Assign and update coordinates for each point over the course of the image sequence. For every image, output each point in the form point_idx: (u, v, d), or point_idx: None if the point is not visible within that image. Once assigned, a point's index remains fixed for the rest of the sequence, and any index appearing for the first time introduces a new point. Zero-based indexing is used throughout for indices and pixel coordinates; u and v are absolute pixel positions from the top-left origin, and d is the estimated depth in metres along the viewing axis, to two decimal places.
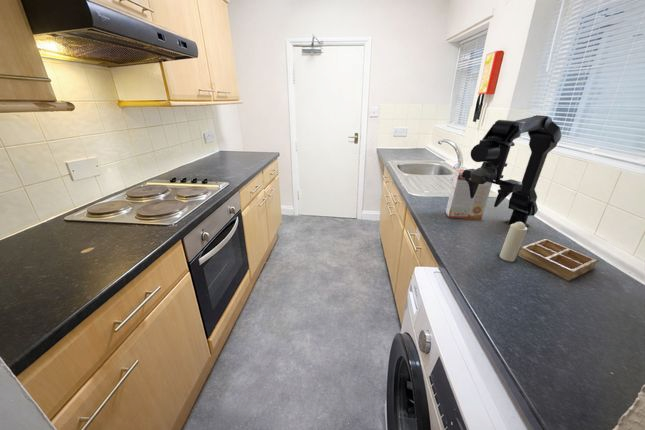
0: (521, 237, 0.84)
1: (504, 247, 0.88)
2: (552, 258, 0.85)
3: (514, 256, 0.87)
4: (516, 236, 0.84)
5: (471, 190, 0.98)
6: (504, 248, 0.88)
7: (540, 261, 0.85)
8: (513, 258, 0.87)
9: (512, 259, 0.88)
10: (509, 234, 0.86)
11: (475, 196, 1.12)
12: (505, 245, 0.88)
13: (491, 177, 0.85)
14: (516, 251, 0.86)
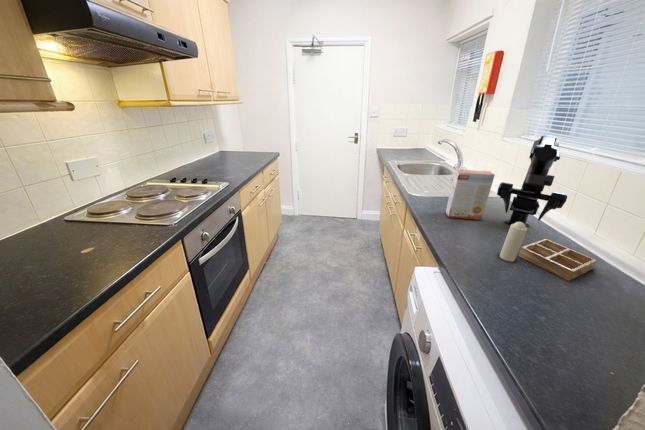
0: (521, 237, 0.84)
1: (504, 247, 0.88)
2: (552, 258, 0.85)
3: (514, 256, 0.87)
4: (516, 236, 0.84)
5: (508, 203, 0.92)
6: (504, 248, 0.88)
7: (540, 261, 0.85)
8: (513, 258, 0.87)
9: (512, 259, 0.88)
10: (509, 234, 0.86)
11: (475, 196, 1.12)
12: (505, 245, 0.88)
13: None
14: (516, 251, 0.86)
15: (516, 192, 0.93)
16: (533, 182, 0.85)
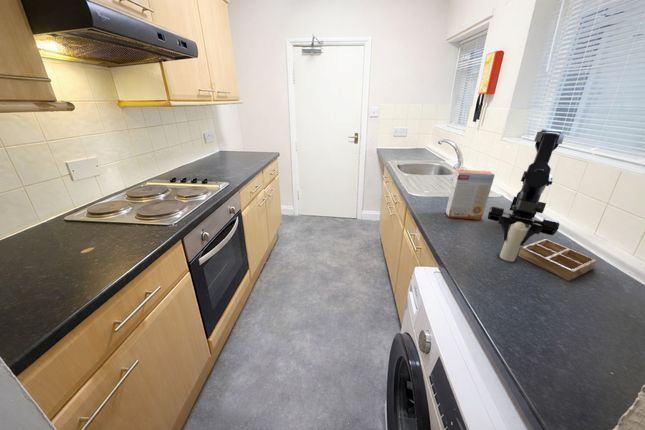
0: (521, 237, 0.84)
1: (504, 247, 0.88)
2: (552, 258, 0.85)
3: (514, 256, 0.87)
4: (517, 236, 0.84)
5: (507, 231, 0.87)
6: (504, 248, 0.88)
7: (540, 261, 0.85)
8: (513, 258, 0.87)
9: (512, 259, 0.88)
10: (509, 234, 0.86)
11: (475, 196, 1.12)
12: (505, 245, 0.88)
13: (544, 207, 0.81)
14: (516, 251, 0.86)
15: None
16: (524, 209, 0.82)
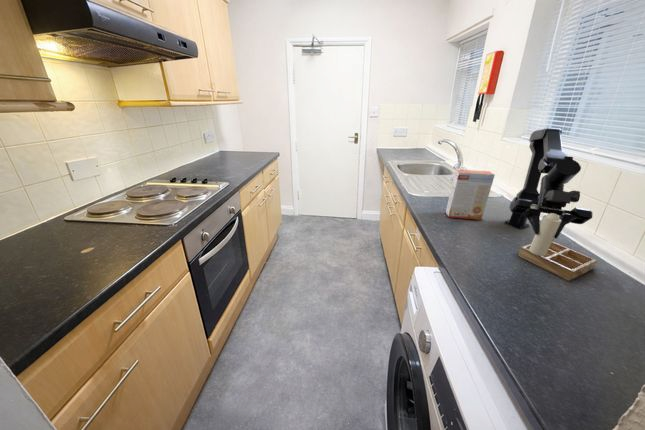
0: (556, 229, 0.79)
1: (536, 241, 0.82)
2: (552, 258, 0.85)
3: (547, 250, 0.82)
4: (552, 229, 0.78)
5: (538, 223, 0.81)
6: (536, 242, 0.82)
7: (540, 261, 0.85)
8: (546, 252, 0.82)
9: (545, 253, 0.82)
10: (542, 227, 0.80)
11: (475, 196, 1.12)
12: (537, 239, 0.82)
13: None
14: (549, 244, 0.81)
15: None
16: (559, 199, 0.76)
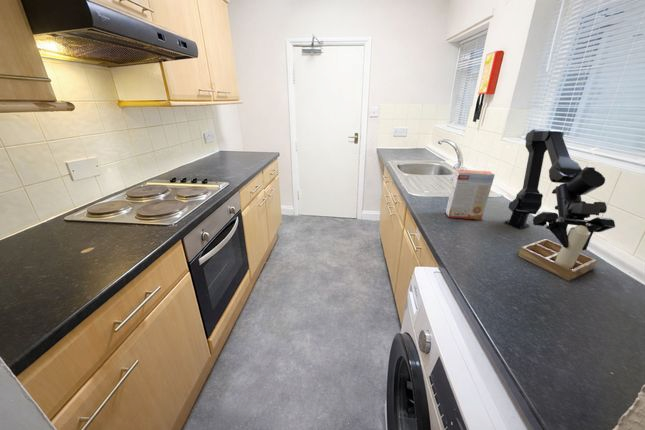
0: (585, 242, 0.78)
1: (565, 254, 0.81)
2: (552, 258, 0.85)
3: None
4: (582, 241, 0.77)
5: (566, 236, 0.80)
6: (565, 255, 0.81)
7: (540, 261, 0.85)
8: None
9: (573, 265, 0.81)
10: (572, 240, 0.78)
11: (475, 196, 1.12)
12: (566, 252, 0.80)
13: None
14: None
15: None
16: (589, 212, 0.75)
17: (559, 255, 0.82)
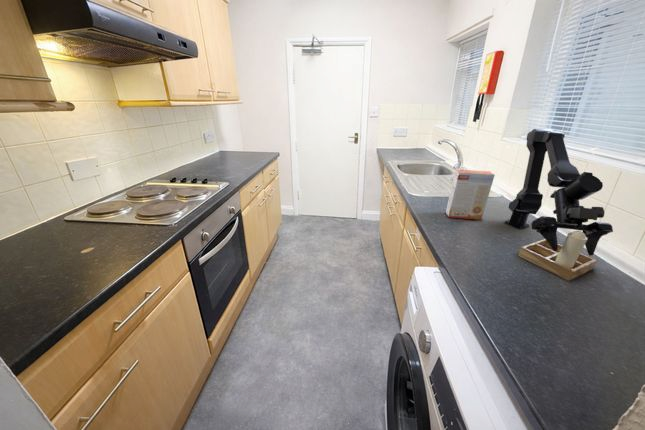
0: None
1: (562, 259, 0.81)
2: (552, 258, 0.85)
3: (572, 266, 0.81)
4: (579, 247, 0.78)
5: (556, 240, 0.81)
6: (562, 260, 0.81)
7: (540, 261, 0.85)
8: (571, 269, 0.82)
9: None
10: (569, 245, 0.79)
11: (475, 196, 1.12)
12: (564, 257, 0.81)
13: None
14: (575, 261, 0.81)
15: (557, 225, 0.83)
16: (587, 217, 0.76)
17: (557, 260, 0.83)
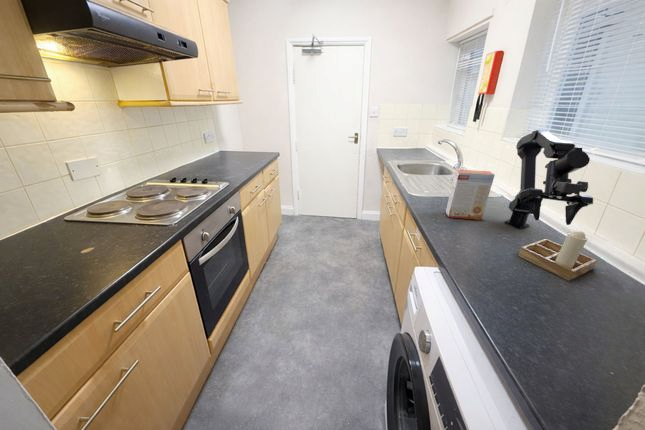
0: None
1: (562, 259, 0.81)
2: (552, 258, 0.85)
3: (572, 266, 0.81)
4: (579, 247, 0.78)
5: (539, 210, 0.88)
6: (562, 260, 0.81)
7: (540, 261, 0.85)
8: (571, 269, 0.82)
9: None
10: (569, 245, 0.79)
11: (475, 196, 1.12)
12: (564, 257, 0.81)
13: None
14: (575, 261, 0.81)
15: (543, 196, 0.89)
16: (571, 191, 0.81)
17: (557, 260, 0.83)
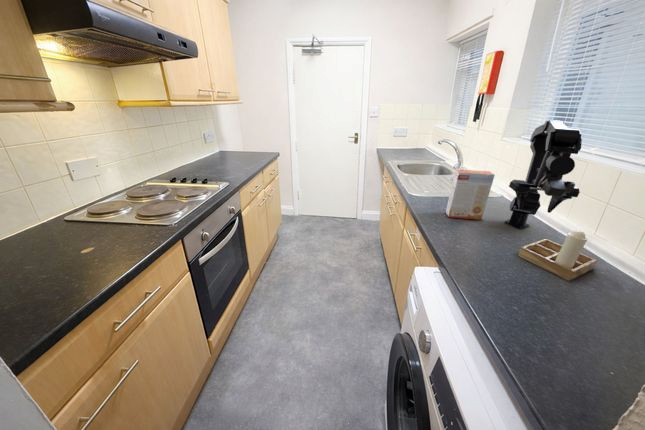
0: None
1: (562, 259, 0.81)
2: (552, 258, 0.85)
3: (572, 266, 0.81)
4: (579, 247, 0.78)
5: (522, 202, 0.93)
6: (562, 260, 0.81)
7: (540, 261, 0.85)
8: (571, 269, 0.82)
9: None
10: (569, 245, 0.79)
11: (475, 196, 1.12)
12: (564, 257, 0.81)
13: None
14: (575, 261, 0.81)
15: None
16: (554, 195, 0.84)
17: (557, 260, 0.83)
